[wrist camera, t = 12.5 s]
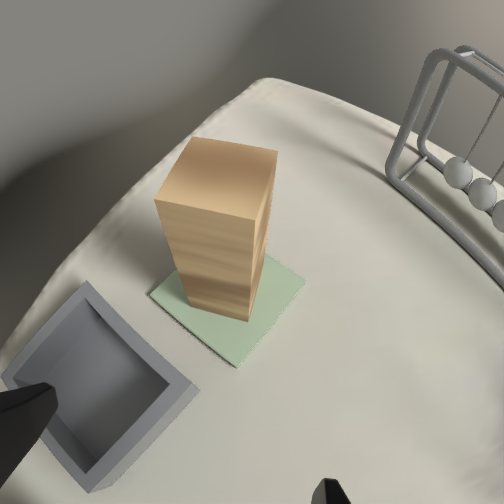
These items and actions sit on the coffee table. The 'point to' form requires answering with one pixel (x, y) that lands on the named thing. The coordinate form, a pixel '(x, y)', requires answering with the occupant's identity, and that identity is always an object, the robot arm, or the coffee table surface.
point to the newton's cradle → (456, 167)
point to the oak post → (219, 222)
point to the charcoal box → (99, 388)
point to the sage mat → (228, 329)
